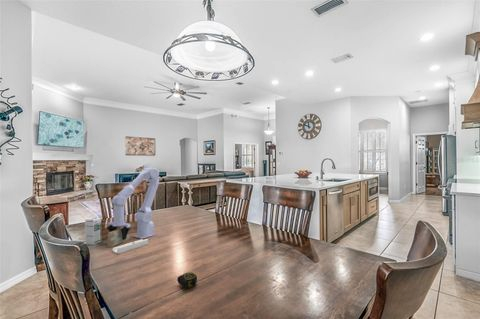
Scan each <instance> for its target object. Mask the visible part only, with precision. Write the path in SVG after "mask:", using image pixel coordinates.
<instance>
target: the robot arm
mask: <svg viewBox="0 0 480 319" xmlns="http://www.w3.org/2000/svg"><path fill="white" fill-rule="evenodd" d="M159 176H160V171H159V170H158V168H156V167H144V168H143V169H142V170H141V171H140V173H139V174H138V175H137V176H136V177H135V179H134V180H133V181H132V182H131V183H130V184H129V185H128V184H127V185H126V186H125V185H124V186H123V189H122V190H120V192H118V193H117V194H116V195H114V196H112V200H111V203H112V204H113V207H112V208H113V216H112V217H113V221H109V222H107V226H108V227H107V230H108V232H112V231H114V230H117V229H118V227H120V228H121V232H122V239H123V240H125V239H126V237H127V233H128V231H129V232H130V229H131V223H128V222H125V204H126V203H127V200H128V199H129V198H130V197H131V196H132V195H133V194H134V192H135V189H136V187H138V186H139V185H140V184H141V183H142V182H143V181H144V180H147V181H148V183H149V185H148V188H147V191H146V193H145V196H144V199H143V202H142V205H141V206H140V208H138V211H137V212H136V213H135V216H134V218H135V220H136V221H137V222H136V223H137V225H136V226H137V227H136V229H137V234H136V235H134V236H133V237H135V238H138V239H139V240H141V239H143V240H144V239H147V238H149V237H152V236H155V231H154V230H155V226H154V222H153V221H152V214H153V213H152V211H153V210H152V205H153V203H154V199H155V196H156V194H157V190H158V188H159V184H160V178H159ZM122 227H123V228H122Z"/></svg>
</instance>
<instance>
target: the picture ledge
mask: <svg viewBox="0 0 480 319" xmlns="http://www.w3.org/2000/svg"><path fill="white" fill-rule="evenodd" d="M148 245H149V239H148V238H143V239H138V240H135V241H130V242H128V243H125V244H121V245H118V246H117V245H116V246H113V247H111V248H112V250H111V252H112V253H115V254H117V255H120V254H124V253H126V252H130V251H133V250H136V249H139V248H142V247H145V246H148Z"/></svg>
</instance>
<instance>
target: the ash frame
mask: <svg viewBox="0 0 480 319" xmlns="http://www.w3.org/2000/svg"><path fill="white" fill-rule="evenodd" d="M121 228H123V227H120V228H117V230H114V231H112V232H110V231H108V232H107V248H114V247H116V246H117V245H118V246H119V245H120V244H121V243H124V242H127V241H128V240H130V230H129V231H128V233H127V237H126V239H125V240H123V239H122V232H121Z"/></svg>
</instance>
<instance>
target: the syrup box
mask: <svg viewBox="0 0 480 319" xmlns="http://www.w3.org/2000/svg"><path fill="white" fill-rule="evenodd" d="M84 224H85V227H84V228H85V244H86V243H87V244H86V245H89V244H90V245H92V246H94V245H97V244H98V243H101V242H102V218H101V217H97V216H96V217H91V218H88V219H85V220H84Z"/></svg>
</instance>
